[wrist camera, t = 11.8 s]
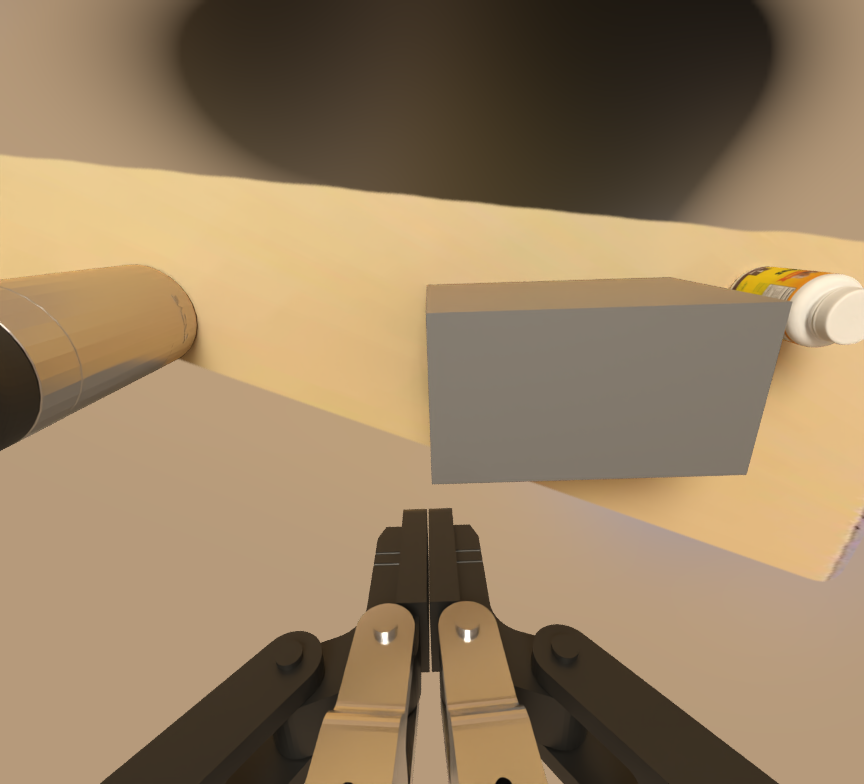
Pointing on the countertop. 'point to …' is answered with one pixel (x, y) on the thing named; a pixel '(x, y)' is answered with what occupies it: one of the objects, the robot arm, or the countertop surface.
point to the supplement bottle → (812, 303)
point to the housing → (597, 378)
